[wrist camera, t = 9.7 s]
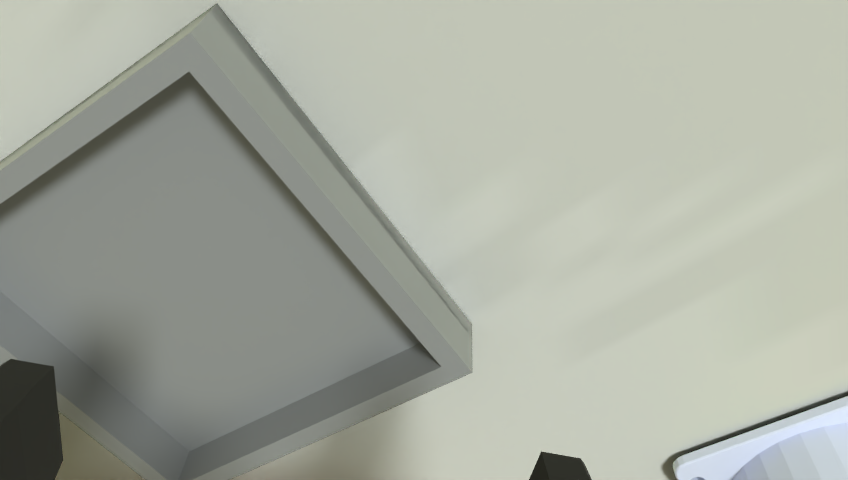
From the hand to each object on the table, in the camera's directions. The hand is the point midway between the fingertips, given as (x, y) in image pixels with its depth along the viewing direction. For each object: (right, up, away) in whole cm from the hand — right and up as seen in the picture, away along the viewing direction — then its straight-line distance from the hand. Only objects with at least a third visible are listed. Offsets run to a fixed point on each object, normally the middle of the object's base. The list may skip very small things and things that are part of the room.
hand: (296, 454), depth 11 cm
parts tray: (-4, +2, +10) cm, 11 cm away
